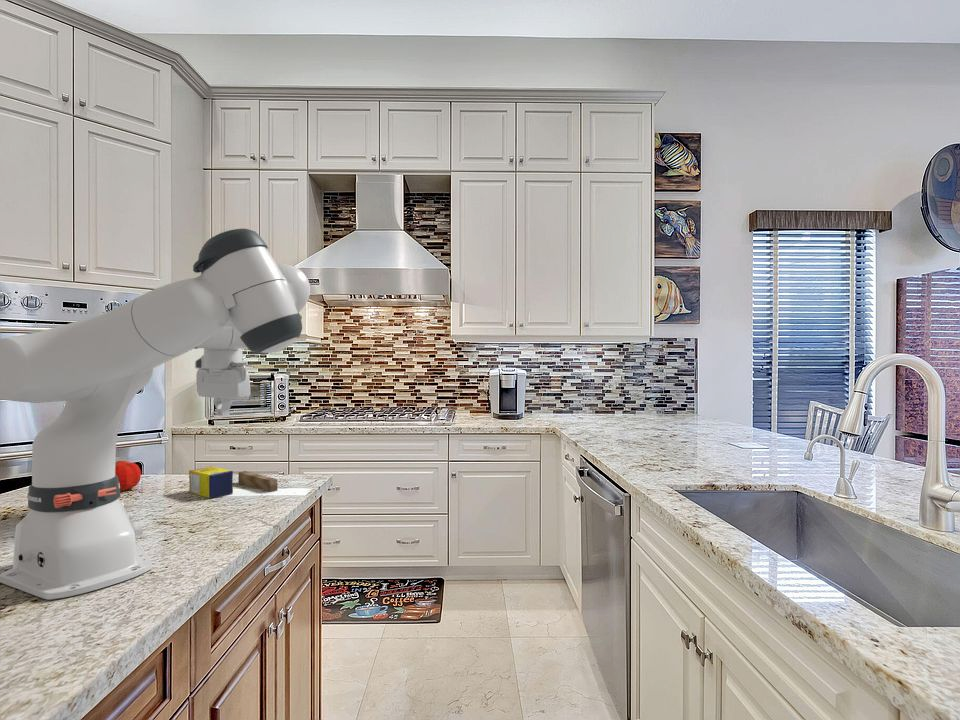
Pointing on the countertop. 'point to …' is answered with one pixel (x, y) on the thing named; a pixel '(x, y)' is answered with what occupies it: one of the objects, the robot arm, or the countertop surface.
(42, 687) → the countertop surface
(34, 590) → the robot arm
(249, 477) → the walnut rail
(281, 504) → the countertop surface
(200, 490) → the supplement box
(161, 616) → the countertop surface
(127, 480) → the tomato
